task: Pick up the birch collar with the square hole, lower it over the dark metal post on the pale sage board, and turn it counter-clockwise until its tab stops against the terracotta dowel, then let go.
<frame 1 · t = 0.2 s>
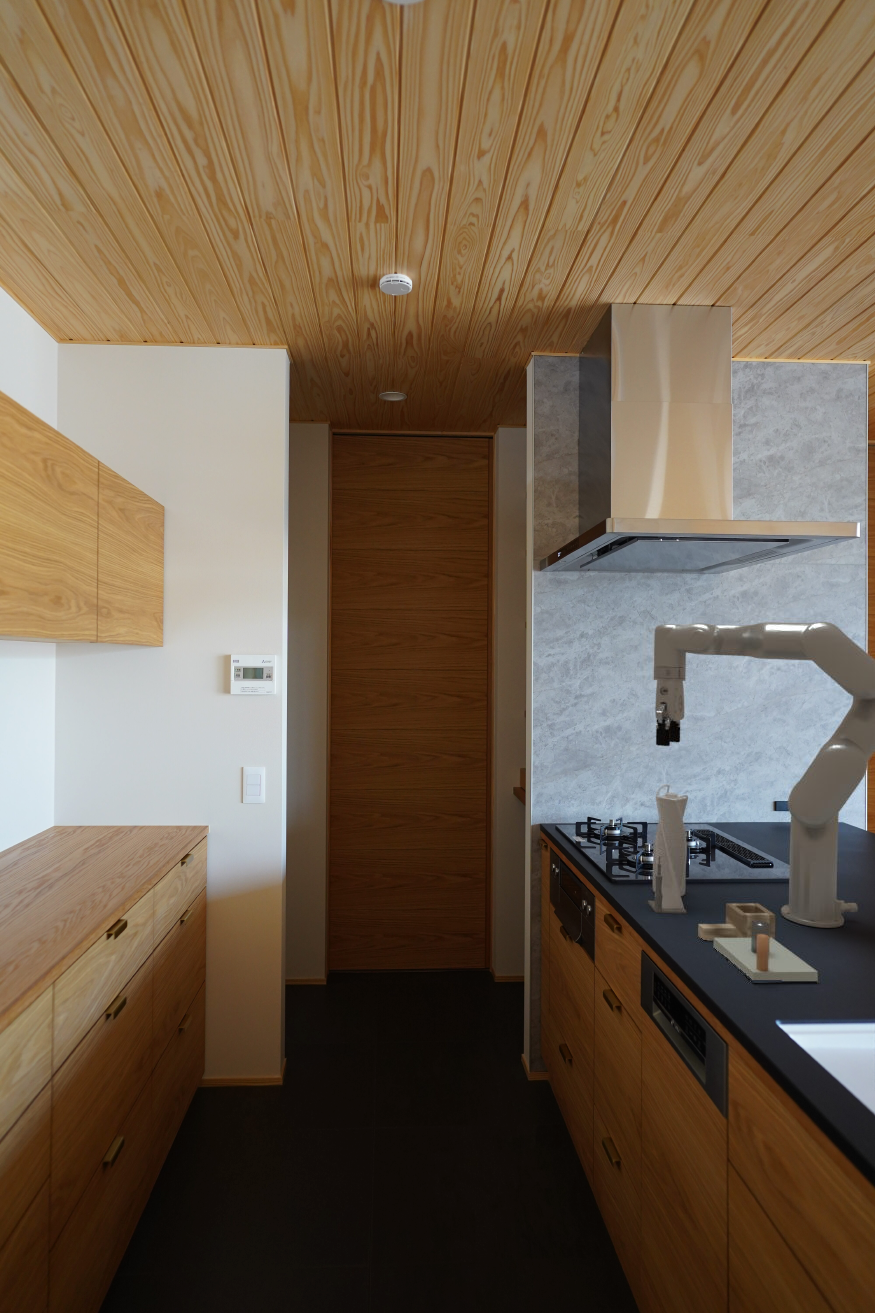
hand: (668, 743, 181), 37 cm above the countertop, tool pointing down, fingers open, 9 cm apart
milk bottle: (668, 893, 182), on the countertop
collar: (700, 938, 152), on the countertop
dowel: (762, 980, 133), resting on board
post: (760, 962, 141), resting on board
board: (762, 964, 140), on the countertop
skyscraper: (668, 907, 171), on the countertop
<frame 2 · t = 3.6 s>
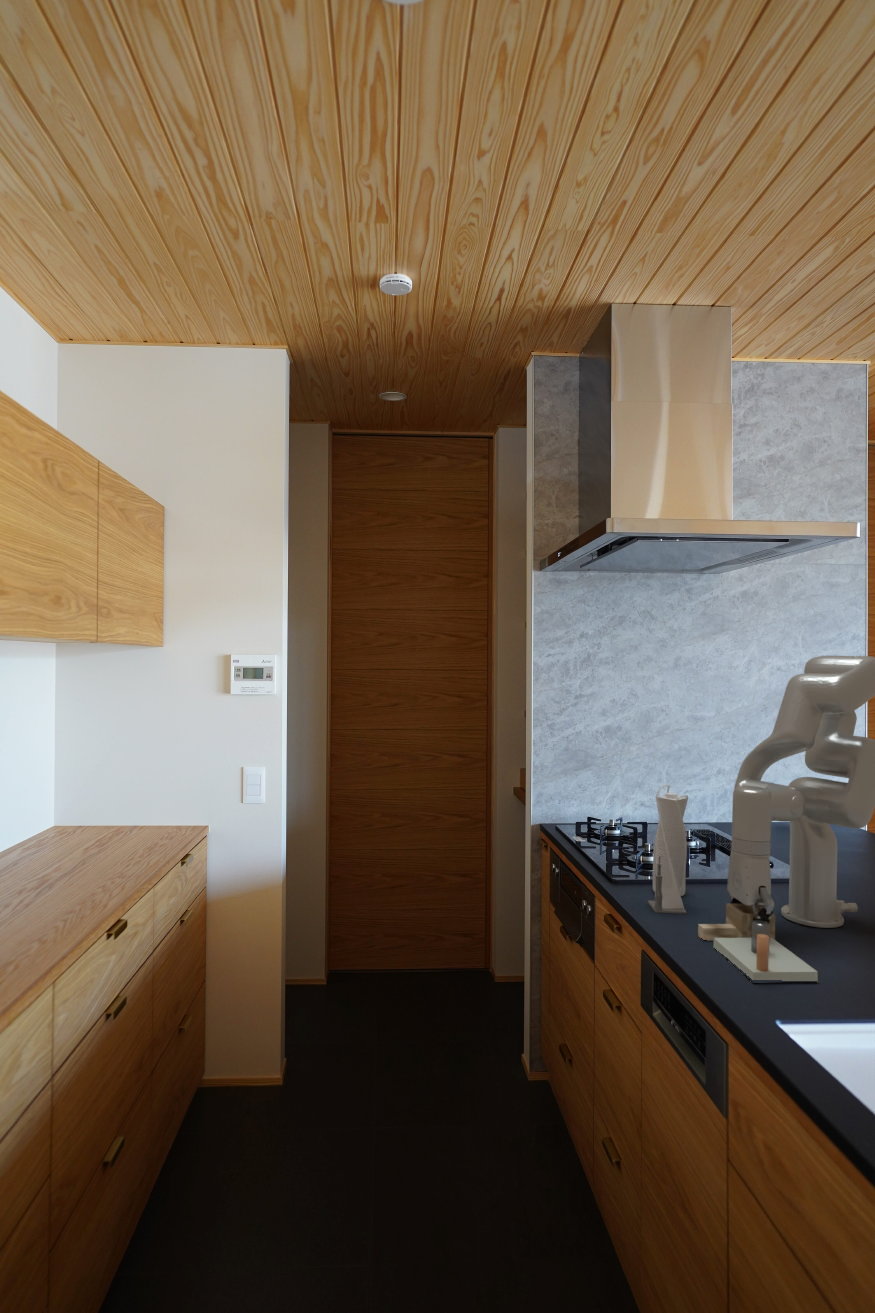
hand: (748, 928, 153), 2 cm above the countertop, tool pointing down, fingers open, 9 cm apart
nothing on the countertop moved.
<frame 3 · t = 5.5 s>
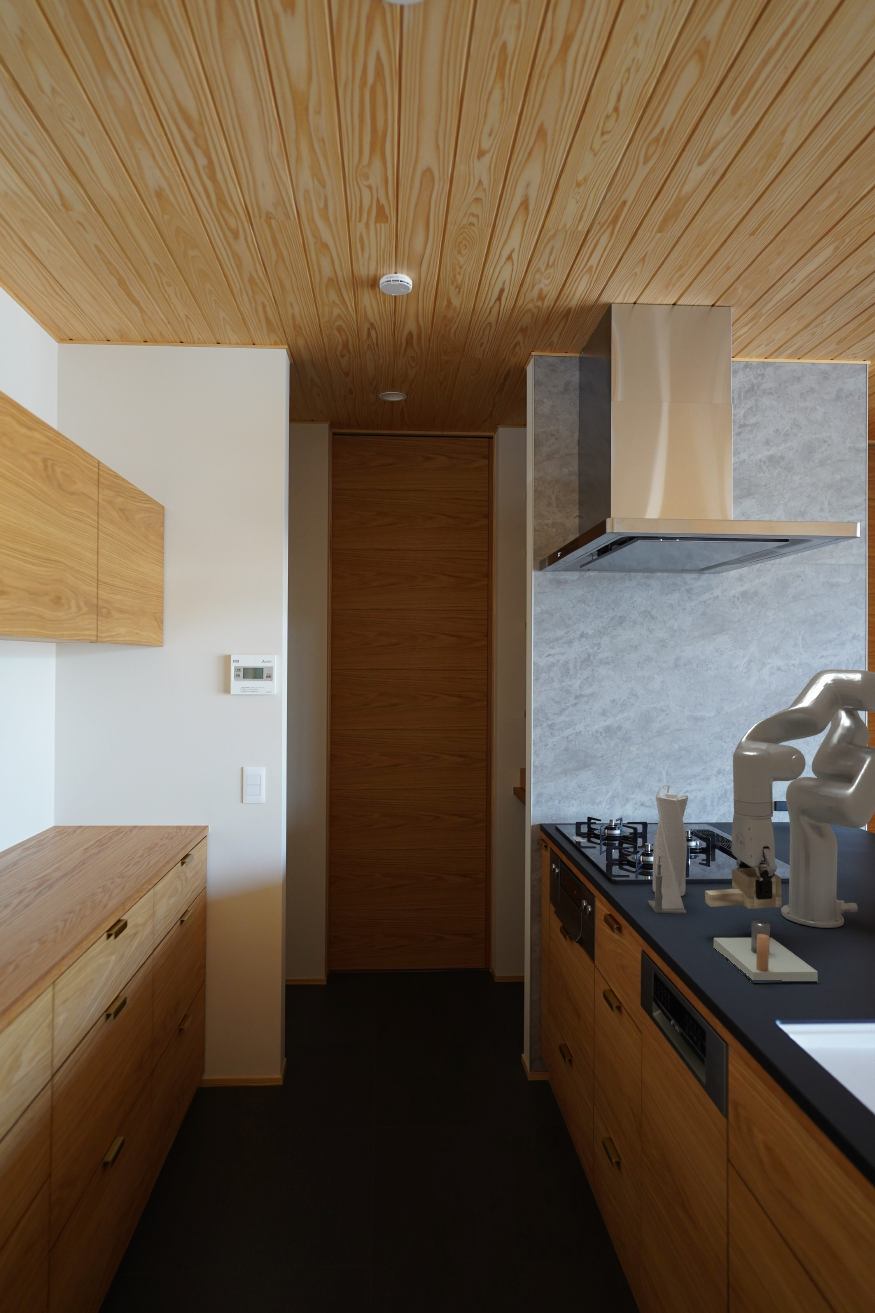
hand: (754, 891, 154), 9 cm above the countertop, tool pointing down, fingers closed on collar, 7 cm apart
collar: (707, 904, 153), point 7 cm above the countertop, touching gripper
everything else where it was.
when the fingers open (4 cm above the countertop, at t = 10.6 s): collar stays where it is, resting on board, dowel.
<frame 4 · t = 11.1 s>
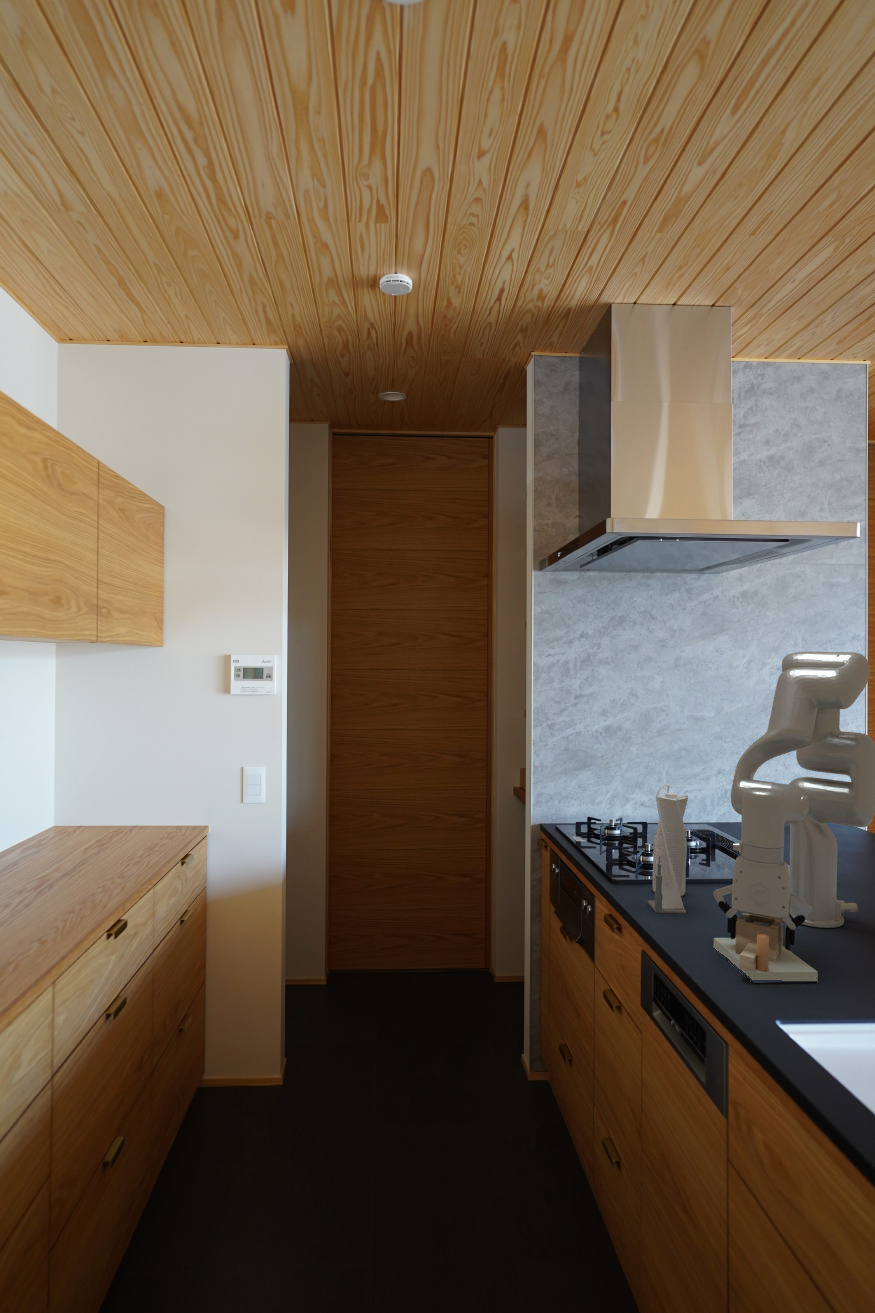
hand: (760, 942, 141), 4 cm above the countertop, tool pointing down, fingers open, 9 cm apart
collar: (746, 970, 132), point 2 cm above the countertop, touching board, dowel
everything else where it was.
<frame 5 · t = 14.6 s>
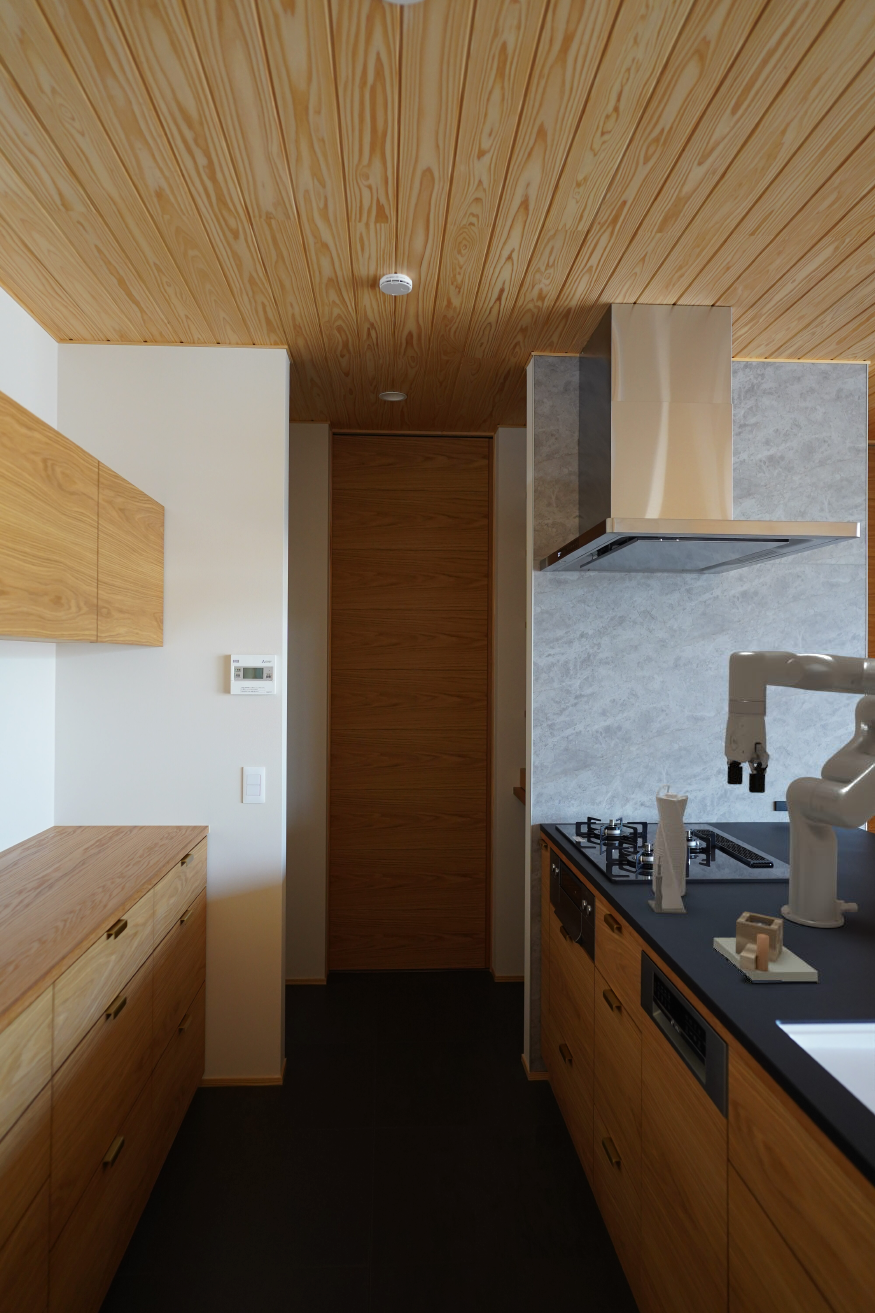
hand: (745, 788, 158), 30 cm above the countertop, tool pointing down, fingers open, 9 cm apart
nothing on the countertop moved.
at the end: collar 0.2 cm from the target spot on the countertop beside the post, point 2.0 cm above the countertop; collar tilted 0°; the gripper is holding nothing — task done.
